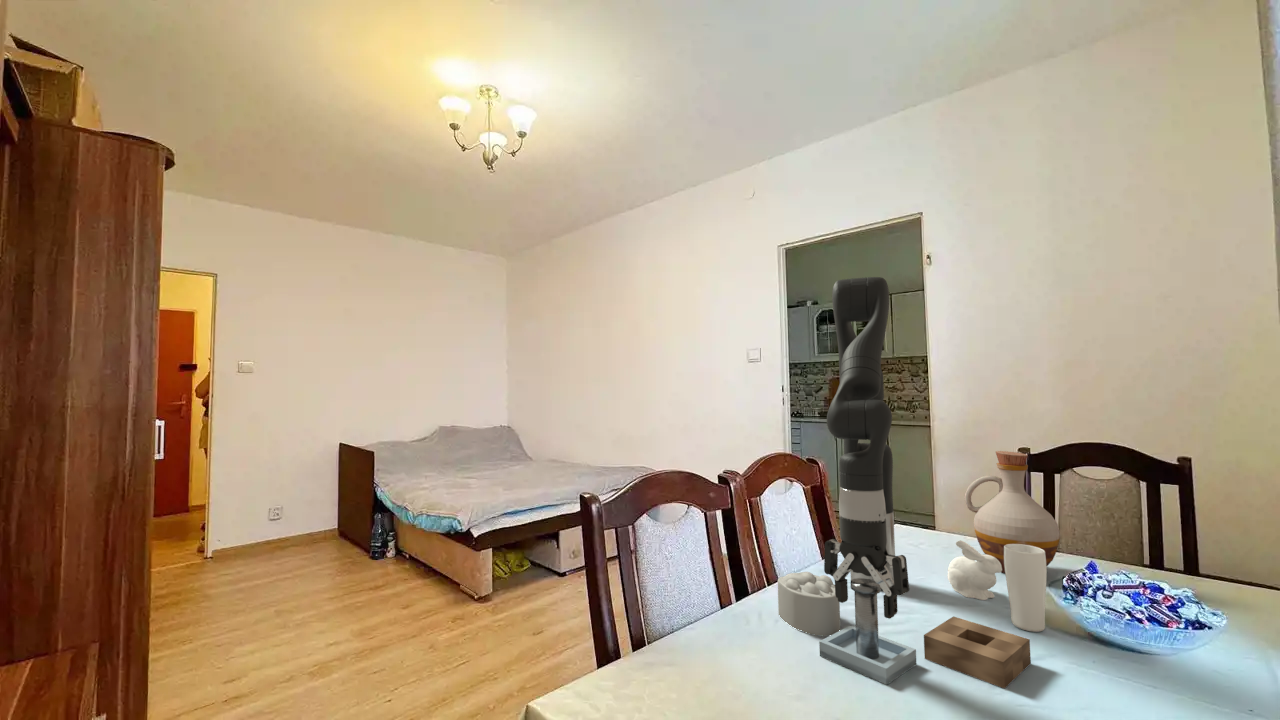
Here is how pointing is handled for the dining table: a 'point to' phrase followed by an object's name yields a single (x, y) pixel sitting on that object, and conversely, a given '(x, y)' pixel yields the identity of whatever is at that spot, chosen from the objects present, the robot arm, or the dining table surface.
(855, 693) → the dining table surface
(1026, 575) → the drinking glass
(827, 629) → the lumpy-topped squat cylinder
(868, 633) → the pin
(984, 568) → the rabbit
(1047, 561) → the jug
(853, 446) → the robot arm
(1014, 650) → the socket block
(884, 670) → the tray
